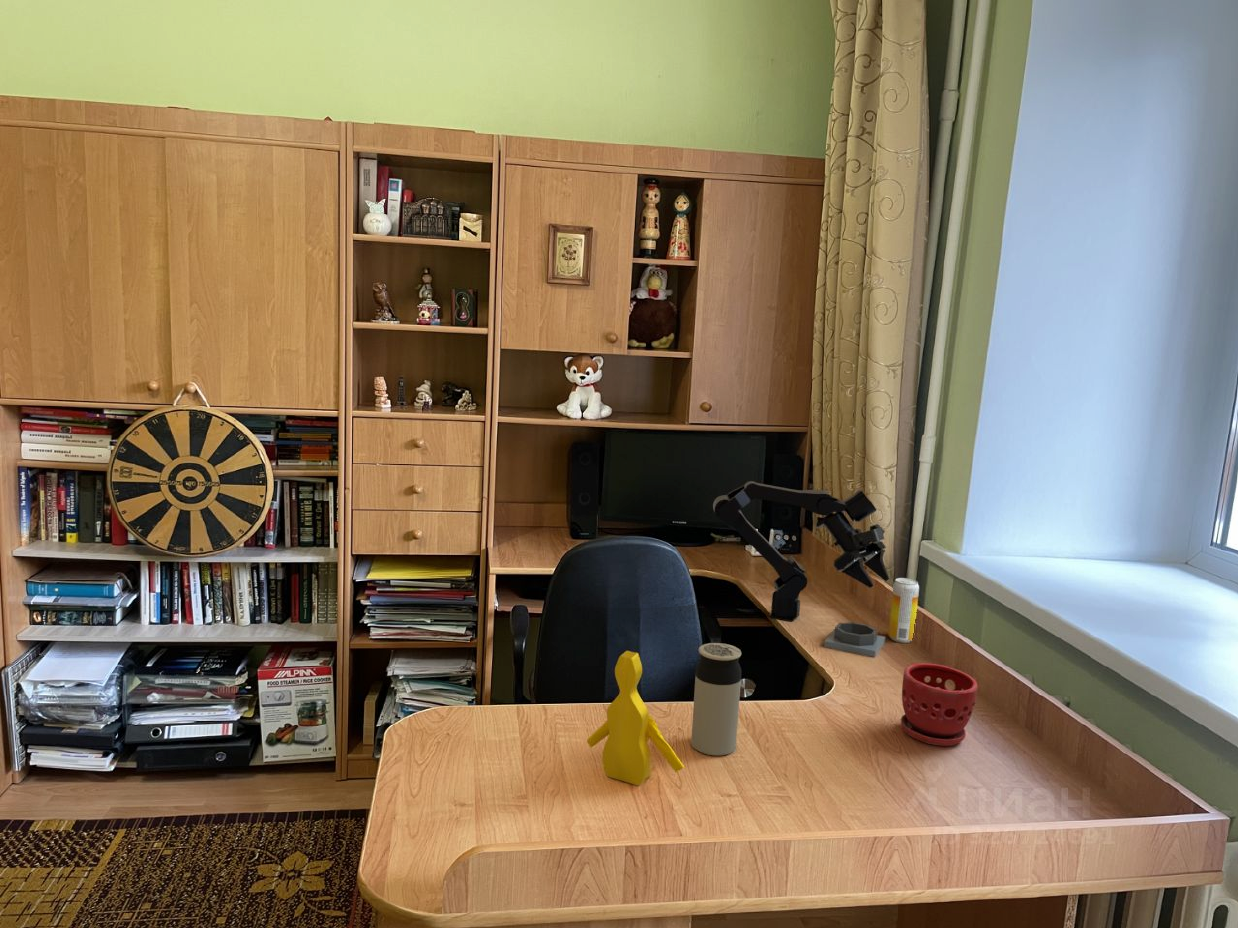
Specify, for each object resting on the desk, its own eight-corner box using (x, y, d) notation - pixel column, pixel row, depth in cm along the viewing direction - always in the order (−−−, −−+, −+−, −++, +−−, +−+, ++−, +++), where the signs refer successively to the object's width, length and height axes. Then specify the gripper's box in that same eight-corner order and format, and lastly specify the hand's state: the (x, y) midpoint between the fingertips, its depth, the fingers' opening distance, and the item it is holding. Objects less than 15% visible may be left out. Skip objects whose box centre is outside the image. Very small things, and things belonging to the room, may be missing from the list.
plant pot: (896, 743, 162) (902, 681, 160) (899, 715, 174) (905, 657, 172) (972, 758, 157) (979, 694, 155) (970, 728, 169) (976, 669, 168)
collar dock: (824, 646, 211) (825, 630, 210) (836, 632, 221) (837, 617, 221) (875, 657, 205) (876, 640, 205) (884, 642, 216) (886, 626, 215)
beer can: (910, 636, 222) (916, 578, 219) (916, 644, 216) (922, 585, 213) (885, 634, 222) (891, 576, 220) (890, 642, 216) (896, 583, 214)
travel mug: (706, 760, 152) (713, 660, 149) (682, 740, 158) (688, 645, 156) (744, 752, 155) (751, 654, 153) (719, 733, 162) (725, 639, 159)
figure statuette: (687, 781, 144) (695, 653, 141) (668, 803, 137) (676, 669, 134) (592, 753, 152) (598, 631, 149) (569, 772, 145) (575, 645, 142)
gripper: (849, 519, 215) (887, 572, 210) (881, 510, 230) (918, 559, 224) (817, 544, 222) (854, 596, 216) (851, 534, 236) (886, 583, 230)
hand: (879, 583), depth 222 cm, fingers open, 9 cm apart
